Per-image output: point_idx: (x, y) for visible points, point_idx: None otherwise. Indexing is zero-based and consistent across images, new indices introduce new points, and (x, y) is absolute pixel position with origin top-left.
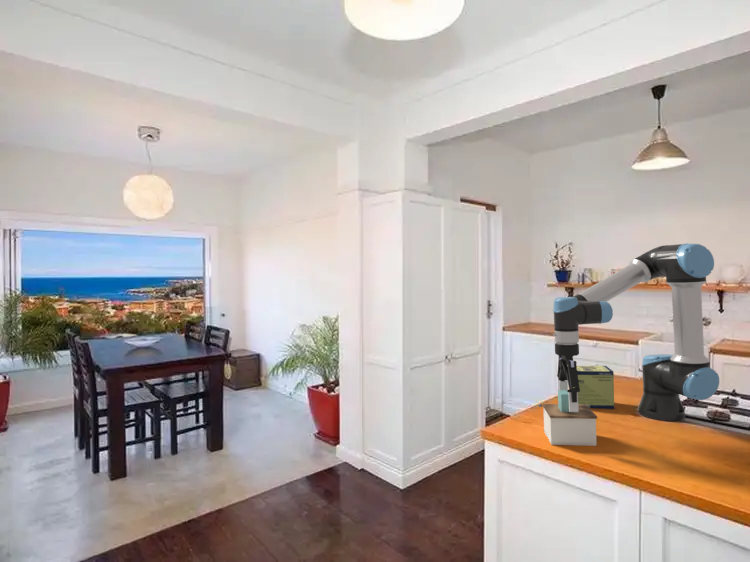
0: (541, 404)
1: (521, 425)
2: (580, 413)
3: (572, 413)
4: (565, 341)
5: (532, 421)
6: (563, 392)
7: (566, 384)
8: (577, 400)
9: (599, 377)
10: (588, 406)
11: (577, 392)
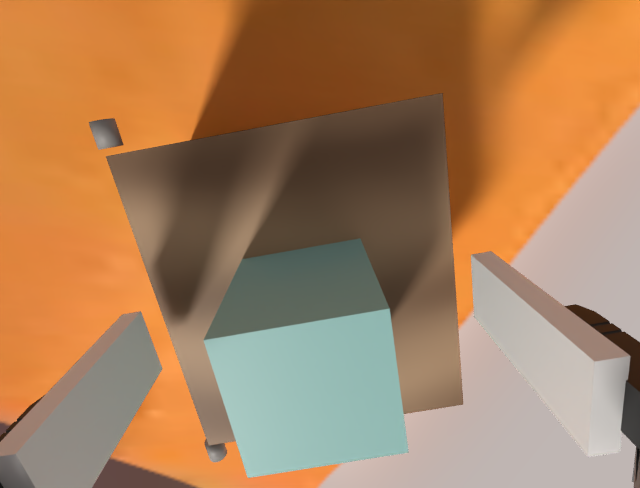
0: (215, 448)
1: (187, 417)
2: (385, 219)
3: (395, 274)
4: None
5: None
6: (325, 432)
7: (51, 428)
8: (550, 302)
9: None
10: (118, 132)
11: (624, 356)
